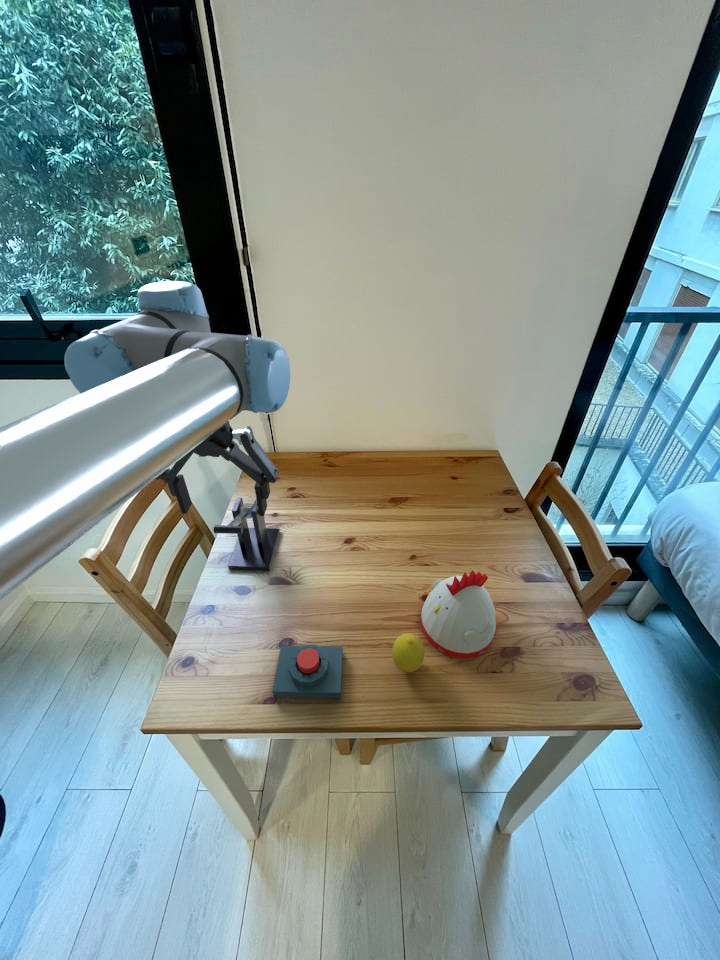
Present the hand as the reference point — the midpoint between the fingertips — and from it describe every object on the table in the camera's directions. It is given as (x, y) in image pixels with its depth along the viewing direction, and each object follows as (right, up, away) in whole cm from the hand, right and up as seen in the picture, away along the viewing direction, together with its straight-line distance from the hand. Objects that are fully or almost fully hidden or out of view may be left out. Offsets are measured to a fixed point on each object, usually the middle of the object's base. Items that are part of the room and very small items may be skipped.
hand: (225, 509), depth 72 cm
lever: (0, -4, +9) cm, 10 cm away
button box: (+15, -28, -1) cm, 32 cm away
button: (+15, -26, -4) cm, 30 cm away
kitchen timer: (+43, -23, +7) cm, 49 cm away
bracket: (0, -11, +21) cm, 24 cm away
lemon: (+32, -28, 0) cm, 42 cm away
